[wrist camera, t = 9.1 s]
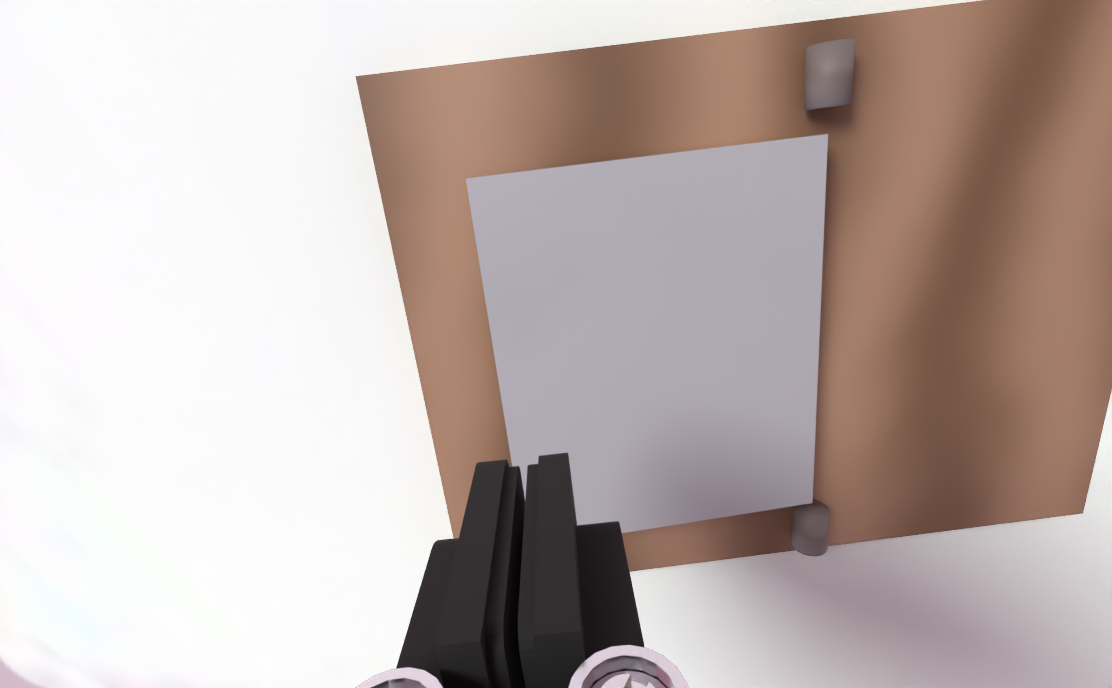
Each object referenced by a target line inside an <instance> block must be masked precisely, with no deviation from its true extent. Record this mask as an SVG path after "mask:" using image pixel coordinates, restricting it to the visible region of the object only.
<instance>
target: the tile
mask: <svg viewBox="0 0 1112 688" xmlns="http://www.w3.org/2000/svg"><path fill="white" fill-rule="evenodd" d="M827 148H828V134H822V135H811V136H802V137H794V138H786V139H777V140H769V141H761V142H753V143H745V144H737V145H729V146H721V147H713V148H704V149H696V150H688V151H680V152H672V153H664V154H656V155H648V156H640V157H632V158H623V159H615V160H607V161H599V162H591V163H583V164H575V165H567V166H559V167H550V168H542V169H534V170H526V171H518V172H510V173H502V174H494V175H486V176H477V177H469V178H466V184H467V190H468V197H469V203H470V209H471V215H472V221H473V227H474V234H475V240H476V246H477V252H478V258H479V264H480V271H481V277H482V283H483V289H484V295H485V301H486V307H487V314H488V320H489V326H490V332H491V338H492V344H493V351H494V357H495V363H496V369H497V375H498V381H499V388H500V394H501V400H502V406H503V412H504V418H505V425H506V431H507V437H508V443H509V449H510V455H511V462H512V467H513V466H519V467H520V471H521V477H522V483H523V490H524V496H525V499H526V483H527V467H528V465H531V464H538V458H539V456H541V455H550V454H559V453H568V456H569V463H570V471H571V479H572V488H573V496H574V504H575V512H576V520H577V525H586V524H595V523H604V522H614V521H619V523H620V528H621V532H622V533H627V532H633V531H639V530H646V529H652V528H658V527H664V526H671V525H677V524H683V523H690V522H696V521H702V520H709V519H715V518H721V517H728V516H734V515H740V514H747V513H753V512H759V511H765V510H772V509H778V508H784V507H791V506H797V505H803V504H810V503H812V502H813V478H814V455H815V431H816V407H817V384H818V360H819V337H820V313H821V289H822V266H823V242H824V219H825V195H826V171H827Z"/></svg>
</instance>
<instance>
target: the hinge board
mask: <svg viewBox="0 0 1112 688" xmlns="http://www.w3.org/2000/svg"><path fill="white" fill-rule="evenodd" d="M356 80H357V85H358V90H359V94H360V99H361V104H362V109H363V113H364V118H365V123H366V127H367V132H368V137H369V142H370V146H371V151H372V156H373V160H374V165H375V170H376V174H377V179H378V184H379V189H380V193H381V198H382V203H383V207H384V212H385V217H386V222H387V226H388V231H389V236H390V240H391V245H392V250H393V255H394V259H395V264H396V269H397V273H398V278H399V283H400V288H401V292H402V297H403V302H404V306H405V311H406V316H407V320H408V325H409V330H410V335H411V339H412V344H413V349H414V353H415V358H416V363H417V368H418V372H419V377H420V382H421V386H422V391H423V396H424V401H425V405H426V410H427V415H428V419H429V424H430V429H431V434H432V438H433V443H434V448H435V452H436V457H437V462H438V466H439V471H440V476H441V481H442V485H443V490H444V495H445V499H446V504H447V509H448V514H449V518H450V523H451V528H452V532H453V537H454V539H455V538H459V535H460V531H461V526H462V522H463V518H464V514H465V509H466V505H467V501H468V496H469V492H470V488H471V484H472V479H473V475H474V471H475V467H476V464H477V463H478V462H486V461H495V460H504V459H507V461H508V463H509V467H512V462H511V455H510V449H509V443H508V437H507V431H506V425H505V418H504V412H503V406H502V400H501V394H500V388H499V381H498V375H497V369H496V363H495V357H494V351H493V344H492V338H491V332H490V326H489V320H488V314H487V307H486V301H485V295H484V289H483V283H482V277H481V271H480V264H479V258H478V252H477V246H476V240H475V234H474V227H473V221H472V215H471V209H470V203H469V197H468V190H467V184H466V178H469V177H477V176H486V175H494V174H502V173H510V172H518V171H526V170H534V169H542V168H550V167H559V166H567V165H575V164H583V163H591V162H599V161H607V160H615V159H623V158H632V157H640V156H648V155H656V154H664V153H672V152H680V151H688V150H696V149H704V148H713V147H721V146H729V145H737V144H745V143H753V142H761V141H769V140H777V139H786V138H794V137H802V136H811V135H822V134H828V148H827V171H826V195H825V219H824V242H823V266H822V289H821V313H820V337H819V360H818V384H817V407H816V431H815V455H814V478H813V502H812V503H810V504H803V505H797V506H791V507H784V508H778V509H772V510H765V511H759V512H753V513H747V514H740V515H734V516H728V517H721V518H715V519H709V520H702V521H696V522H690V523H683V524H677V525H671V526H664V527H658V528H652V529H646V530H639V531H633V532H627V533H622V537H623V542H624V547H625V552H626V557H627V562H628V567H629V571H637V570H645V569H653V568H661V567H668V566H676V565H684V564H692V563H700V562H707V561H715V560H723V559H731V558H738V557H746V556H754V555H762V554H770V553H777V552H785V551H793V550H797V551H798V552H800V553H802V554H804V555H808V556H820V555H823V554H824V553H826V551H827V547H828V546H832V545H840V544H847V543H855V542H863V541H871V540H879V539H886V538H894V537H902V536H910V535H918V534H925V533H933V532H941V531H949V530H956V529H964V528H972V527H980V526H988V525H995V524H1003V523H1011V522H1019V521H1027V520H1034V519H1042V518H1050V517H1058V516H1065V515H1073V514H1081V513H1083V510H1084V506H1085V502H1086V497H1087V493H1088V489H1089V485H1090V480H1091V476H1092V472H1093V467H1094V463H1095V459H1096V454H1097V450H1098V446H1099V441H1100V437H1101V433H1102V429H1103V424H1104V420H1105V416H1106V411H1107V407H1108V403H1109V398H1110V394H1111V390H1112V0H983V1H975V2H967V3H959V4H950V5H942V6H934V7H926V8H917V9H909V10H901V11H893V12H884V13H876V14H868V15H859V16H851V17H843V18H835V19H826V20H818V21H810V22H802V23H793V24H785V25H777V26H769V27H760V28H752V29H744V30H735V31H727V32H719V33H711V34H702V35H694V36H686V37H678V38H669V39H661V40H653V41H645V42H636V43H628V44H620V45H611V46H603V47H595V48H587V49H578V50H570V51H562V52H554V53H545V54H537V55H529V56H521V57H512V58H504V59H496V60H487V61H479V62H471V63H463V64H454V65H446V66H438V67H430V68H421V69H413V70H405V71H397V72H388V73H380V74H372V75H363V76H356Z"/></svg>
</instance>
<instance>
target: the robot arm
mask: <svg viewBox="0 0 1112 688" xmlns="http://www.w3.org/2000/svg"><path fill="white" fill-rule="evenodd" d="M356 688H689V686H688V684H687V682H686V680H685V679H684V677H683V676H682V674H681V672H680V671H679V669H678V668H677V667H676V666H675V665H674V664H673V663H672V662H670V661H669V660H668V659H667V658H666V657H665V656H663V655H661V654H659V653H657V652H655V651H653V650H650V649H648V648H645V647H644V643H643V638H642V633H641V628H640V623H639V617H638V612H637V607H636V602H635V597H634V592H633V587H632V582H631V577H630V572H629V567H628V562H627V557H626V552H625V547H624V542H623V537H622V532H621V528H620V523H619V521H614V522H604V523H595V524H586V525H577V520H576V512H575V504H574V496H573V488H572V479H571V471H570V463H569V456H568V453H559V454H550V455H541V456H539V458H538V464H531V465H528V467H527V483H526V499H525V496H524V490H523V483H522V477H521V471H520V467H519V466H513V467H509V463H508V461H507V459H504V460H495V461H486V462H478V463H477V464H476V467H475V471H474V475H473V479H472V484H471V488H470V492H469V496H468V501H467V505H466V509H465V514H464V518H463V522H462V526H461V531H460V535H459V538H455V539H446V540H437V541H436V542H435V543H434V545H433V547H432V550H431V553H430V556H429V560H428V563H427V567H426V570H425V573H424V577H423V580H422V583H421V587H420V590H419V593H418V597H417V600H416V604H415V607H414V610H413V614H412V617H411V620H410V624H409V627H408V630H407V634H406V637H405V641H404V644H403V647H402V651H401V654H400V657H399V661H398V664H397V667H396V669H391V670H388V671H385V672H383V673H380V674H377V675H375V676H373V677H371V678H369V679H368V680H366V681H365V682H363V683H362V684H360V685H358V686H357V687H356Z"/></svg>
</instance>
